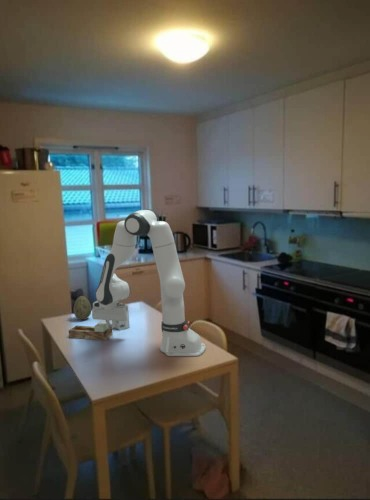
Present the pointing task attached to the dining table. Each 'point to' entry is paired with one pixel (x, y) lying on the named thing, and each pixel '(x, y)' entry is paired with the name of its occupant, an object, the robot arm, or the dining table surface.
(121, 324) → the light bulb box
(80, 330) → the beam
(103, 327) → the block
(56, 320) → the dining table surface
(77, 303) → the decorative egg
